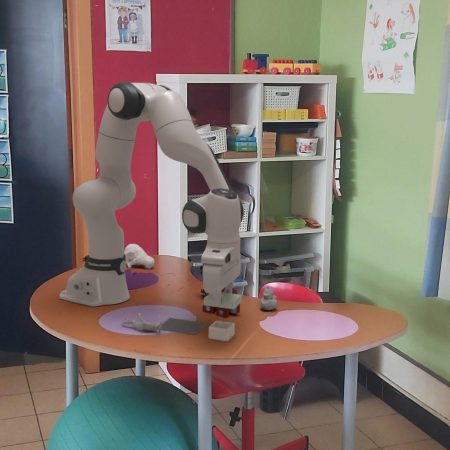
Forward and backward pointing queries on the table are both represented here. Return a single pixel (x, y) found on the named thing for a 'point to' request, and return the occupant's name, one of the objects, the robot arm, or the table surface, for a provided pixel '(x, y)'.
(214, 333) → the white open box
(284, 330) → the table surface
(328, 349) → the table surface
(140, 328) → the soldier figure
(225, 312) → the toy fire truck
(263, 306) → the grey figurine
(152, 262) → the white lumpy piece
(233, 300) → the rectangular block
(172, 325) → the mat
